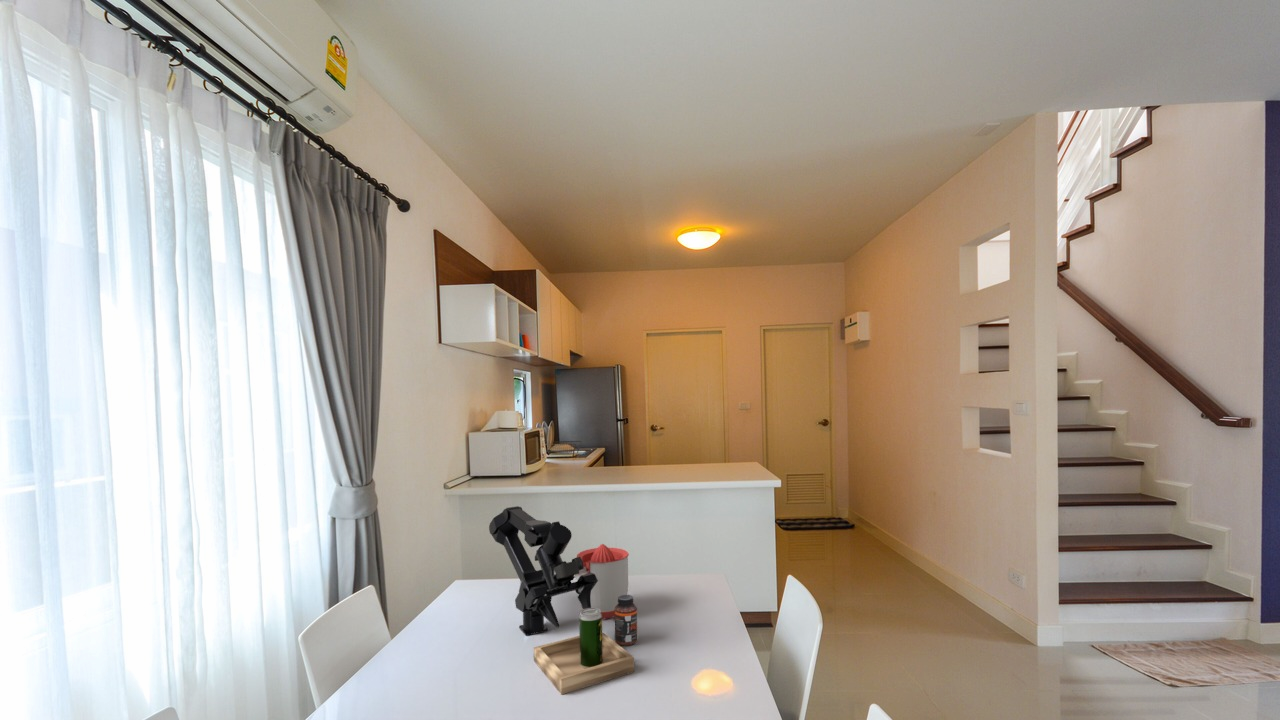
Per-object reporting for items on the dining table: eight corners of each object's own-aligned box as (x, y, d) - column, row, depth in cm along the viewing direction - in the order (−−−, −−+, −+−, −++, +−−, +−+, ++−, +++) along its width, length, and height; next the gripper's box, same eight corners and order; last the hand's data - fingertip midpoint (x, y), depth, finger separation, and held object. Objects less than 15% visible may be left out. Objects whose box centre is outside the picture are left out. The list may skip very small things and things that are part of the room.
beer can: (581, 671, 123) (580, 617, 124) (578, 661, 128) (577, 609, 129) (604, 668, 125) (603, 614, 125) (600, 657, 130) (599, 606, 131)
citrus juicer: (562, 614, 161) (561, 545, 162) (608, 598, 172) (606, 534, 174) (594, 629, 149) (592, 555, 151) (640, 612, 161) (639, 543, 162)
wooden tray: (533, 661, 132) (533, 647, 132) (600, 642, 141) (600, 630, 141) (561, 694, 116) (561, 679, 116) (634, 671, 125) (634, 657, 125)
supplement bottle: (635, 647, 137) (633, 601, 138) (612, 646, 139) (611, 600, 140) (639, 637, 143) (638, 593, 144) (618, 636, 144) (617, 592, 145)
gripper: (529, 554, 133) (551, 614, 123) (593, 541, 144) (618, 595, 135) (515, 579, 138) (536, 638, 129) (578, 564, 150) (601, 618, 140)
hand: (574, 621), depth 133 cm, fingers open, 9 cm apart
